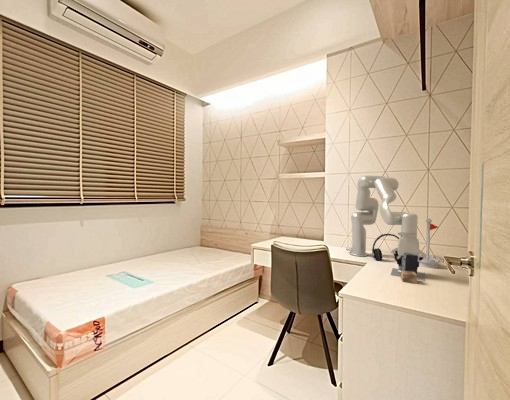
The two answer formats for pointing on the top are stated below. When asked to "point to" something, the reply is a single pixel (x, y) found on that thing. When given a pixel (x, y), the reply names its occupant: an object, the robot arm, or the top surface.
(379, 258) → the headphones
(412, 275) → the walnut block
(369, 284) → the top surface
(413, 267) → the small box
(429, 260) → the marker stand
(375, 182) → the robot arm
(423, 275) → the letter board
